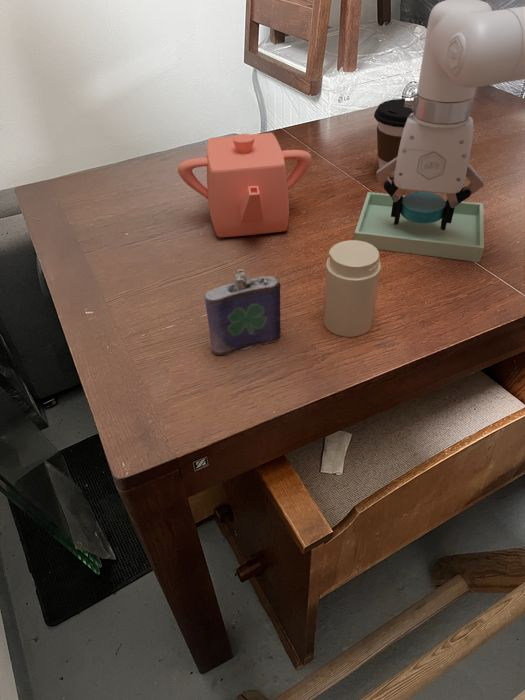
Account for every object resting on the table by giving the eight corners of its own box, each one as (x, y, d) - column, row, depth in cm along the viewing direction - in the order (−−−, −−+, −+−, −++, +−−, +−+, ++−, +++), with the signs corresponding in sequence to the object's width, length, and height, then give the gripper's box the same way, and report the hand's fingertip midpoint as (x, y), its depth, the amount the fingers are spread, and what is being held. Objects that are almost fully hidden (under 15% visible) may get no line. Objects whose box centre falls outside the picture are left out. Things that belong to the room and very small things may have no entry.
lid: (398, 221, 80) (399, 210, 78) (401, 201, 84) (403, 190, 83) (443, 225, 78) (445, 214, 77) (444, 204, 83) (446, 193, 81)
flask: (214, 358, 63) (204, 289, 56) (209, 343, 65) (198, 275, 58) (283, 340, 65) (283, 271, 58) (276, 326, 67) (274, 258, 60)
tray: (479, 216, 86) (483, 203, 84) (479, 262, 76) (484, 248, 74) (366, 204, 90) (367, 191, 89) (353, 246, 81) (354, 232, 79)
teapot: (185, 202, 94) (173, 125, 84) (302, 191, 95) (303, 114, 85) (186, 261, 79) (172, 176, 70) (324, 248, 81) (329, 162, 71)
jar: (372, 307, 69) (382, 239, 62) (372, 339, 65) (383, 270, 57) (324, 303, 70) (328, 236, 63) (321, 335, 66) (324, 266, 58)
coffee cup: (398, 189, 94) (409, 123, 86) (356, 170, 101) (362, 107, 92) (436, 172, 99) (449, 107, 91) (393, 155, 105) (402, 93, 97)
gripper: (375, 113, 69) (362, 228, 82) (510, 121, 65) (475, 242, 78) (382, 96, 75) (369, 207, 87) (508, 102, 70) (475, 218, 83)
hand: (419, 222), depth 82 cm, fingers closed on lid, 6 cm apart
